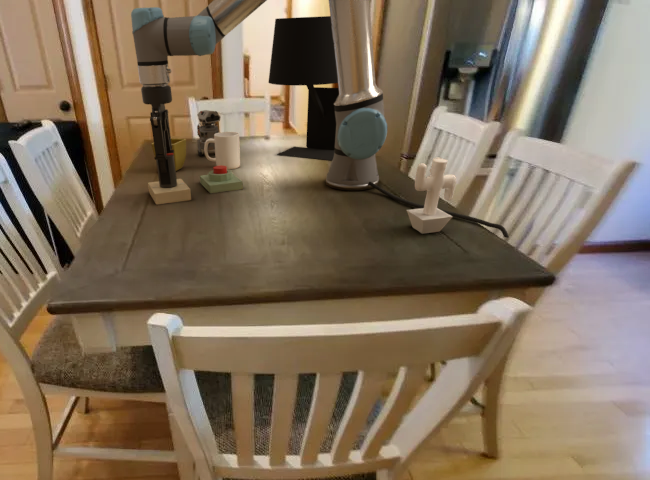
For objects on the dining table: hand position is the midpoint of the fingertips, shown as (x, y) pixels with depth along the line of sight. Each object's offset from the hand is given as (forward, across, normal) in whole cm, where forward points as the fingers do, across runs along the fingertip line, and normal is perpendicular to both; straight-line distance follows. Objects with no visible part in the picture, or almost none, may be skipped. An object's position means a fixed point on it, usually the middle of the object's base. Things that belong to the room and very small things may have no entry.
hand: (167, 181), depth 131 cm
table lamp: (+4, +44, -43) cm, 62 cm away
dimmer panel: (+4, 0, 0) cm, 4 cm away
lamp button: (+1, +9, -14) cm, 17 cm away
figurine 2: (+4, -31, -64) cm, 71 cm away
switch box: (+4, +9, -14) cm, 17 cm away
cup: (+4, +33, -13) cm, 36 cm away
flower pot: (+4, +31, +4) cm, 32 cm away
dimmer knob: (+1, 0, 0) cm, 1 cm away
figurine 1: (+4, +51, -8) cm, 51 cm away
